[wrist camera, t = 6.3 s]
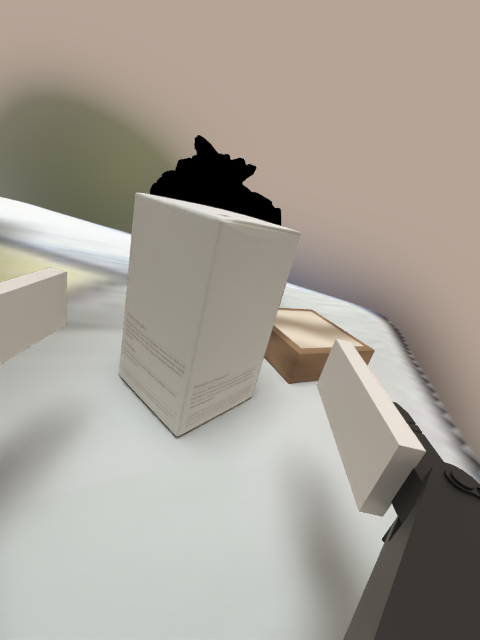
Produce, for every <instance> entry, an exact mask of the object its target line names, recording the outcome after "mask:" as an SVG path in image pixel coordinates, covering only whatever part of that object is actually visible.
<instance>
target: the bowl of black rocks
mask: <svg viewBox="0 0 480 640" xmlns="http://www.w3.org/2000/svg"><path fill="white" fill-rule="evenodd" d="M195 149H196V151H197V155H195V156H193V157H192V159H191V158H187V159H181V160H179V161H178V163H177V167H176V169H175V171H174V170H170V171H167V172H164V173H163V174H162V177H160V178H159V179H158V180H157V182H156V183H154V184H153V185H152V187H151V189H150V195H156V196H161V197H166V198H171V199H176V200H181V201H186V202H191V203H196V204H200V205H205V206H209V207H214V208H218V209H223V210H227V211H231V212H234V213H238V214H242V215H246V216H249V217H253V218H256V219H259V220H263V221H266V222H269V223H272V224H276V225H279V226H281V209H280V208H274V206H273V205H272V202H271V201H270V200H269V199H267V198H265V197H264V196H262V195H260V194H258V193H256V192H251V191H250V190H249V189H248V188H247V187H245V186H244V185H243V184H242V183H243V181H245V180H246V179H247V178H248V177H250V176H251V175H253V174H254V172H255V170H256V166H253V165H251V164H248V165H246V164H245V160H244V159H242V158H237V159H233V160H231V159H230V155H228V154H225V155H223V154H219V153H218V152H217V151H216V150H215V149H214V147H213V146H212V145H211V144H210V143H209V142H208V141H207V140H206V139H205V138H203V137H202V136H200V135H198V136H197V137H196V138H195Z"/></svg>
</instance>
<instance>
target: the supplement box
mask: <svg viewBox="0 0 480 640" xmlns="http://www.w3.org/2000/svg"><path fill="white" fill-rule="evenodd" d="M300 236H301V232H299V231H295V230H292V229H289V228H286V227H282V226H279V225H276V224H272V223H269V222H266V221H263V220H259V219H256V218H253V217H249V216H246V215H242V214H238V213H234V212H231V211H227V210H223V209H218V208H214V207H209V206H205V205H200V204H196V203H191V202H186V201H181V200H176V199H171V198H166V197H161V196H156V195H150V194H144V193H136V194H135V205H134V214H133V225H132V236H131V248H130V259H129V271H128V282H127V294H126V306H125V317H124V328H123V339H122V348H121V360H120V370H119V375H120V377H121V378H122V379H123V380H124V381H125V382H126V383H127V384H128V385H129V386H130V387H131V388H132V389H133V390H134V392H135V393H136V394H137V395H138V396H139V397H140V398H141V399H142V400H143V401H144V402H145V403H146V404H147V405H148V406H149V408H150V409H151V410H152V411H153V412H154V413H155V414H156V415H157V416H158V417H159V418H160V419H161V420H162V422H163V423H164V424H165V425H166V426H167V427H168V428H169V429H170V430H171V431H172V432H173V433H174V434H175V435H176V436H180V435H182V434H184V433H186V432H188V431H190V430H192V429H194V428H195V427H197V426H199V425H201V424H203V423H205V422H207V421H209V420H211V419H212V418H214V417H216V416H218V415H220V414H222V413H224V412H225V411H227V410H229V409H231V408H233V407H235V406H236V405H238V404H240V403H242V402H244V401H246V400H247V399H249V398H250V397H251V396H252V395H253V392H254V388H255V385H256V381H257V378H258V375H259V372H260V368H261V365H262V362H263V358H264V355H265V351H266V348H267V345H268V342H269V338H270V335H271V332H272V328H273V325H274V322H275V319H276V315H277V312H278V309H279V306H280V302H281V299H282V296H283V293H284V289H285V286H286V282H287V279H288V275H289V272H290V269H291V266H292V263H293V259H294V256H295V253H296V249H297V246H298V243H299V239H300Z"/></svg>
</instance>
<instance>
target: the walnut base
mask: <svg viewBox="0 0 480 640" xmlns="http://www.w3.org/2000/svg"><path fill="white" fill-rule="evenodd" d="M335 339H340V340H344V341H348V342H351V343H352V344H353V346H354V347H355V349H356V350H357V352H358V353H359V355H360V356H361V357H362V359H363V360H364V362H365V363H366V365H368V363H369V361H370V359H371V357H372V355H373V353H374V351H375V350H373V349H372V348H370V347H369V346H367V345H366V344H364V343H363V342H361V341H359V340H358V339H356V338H355V337H353V336H352V335H350V334H349V333H347V332H346V331H344V330H342V329H341V328H339V327H338V326H336V325H335V324H333V323H332V322H330V321H329V320H327V319H325V318H324V317H322V316H321V315H319V314H318V313H316V312H315V311H313V310H308V309H289V308H279V309H278V312H277V315H276V319H275V322H274V325H273V328H272V332H271V335H270V338H269V342H268V345H267V348H266V351H265V355H264V357H265V358H266V359H267V361H268V362H269V363H270V364H271V365H272V366H273V367H274V368H275V369H276V370H277V371H278V372H279V373H280V374H281V376H282V377H283V378H284V379H285V380H286V381H287V382H288V383H297V382H306V381H314V380H319V378H320V375H321V373H322V371H323V368H324V366H325V363H326V361H327V359H328V356H329V354H330V351H331V349H332V347H333V344H334V342H335Z"/></svg>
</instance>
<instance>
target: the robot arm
mask: <svg viewBox="0 0 480 640" xmlns="http://www.w3.org/2000/svg"><path fill="white" fill-rule="evenodd" d="M66 317H67V271H63V270H59V269H55V268H51V267H50V268H47V269H44V270H40V271H37V272H34V273H30V274H27V275H23V276H20V277H17V278H13V279H10V280H7V281H3V282H0V365H1V364H3V363H4V362H6V361H8V360H9V359H11V358H13V357H14V356H16V355H17V354H19V353H21V352H22V351H24V350H25V349H27V348H29V347H30V346H32V345H33V344H35V343H37V342H38V341H40V340H42V339H43V338H45V337H46V336H48V335H50V334H51V333H53V332H54V331H56V330H58V329H59V328H61V327H63V326H64V325H66ZM317 387H318V390H319V393H320V396H321V399H322V402H323V405H324V408H325V411H326V414H327V417H328V420H329V423H330V426H331V429H332V432H333V435H334V438H335V441H336V444H337V447H338V450H339V453H340V456H341V459H342V462H343V465H344V468H345V471H346V474H347V477H348V480H349V483H350V486H351V489H352V492H353V495H354V498H355V501H356V504H357V507H358V510H359V511H360V512H364V513H369V514H373V515H378V516H382V517H383V516H384V514H385V513H386V511H387V510H388V508H389V507H390V505H391V504H393V507H394V509H395V511H396V513H397V515H398V517H397V518H396V520H395V521H394V523H393V524H392V525H391V527H390V528H389V530H388V531H387V533H386V534H385V535H384V537H383V538H382V541H383V542H385V543H384V545H383V548H382V550H381V552H380V555H379V557H378V559H377V562H376V564H375V566H374V569H373V571H372V573H371V576H370V578H369V581H368V583H367V585H366V588H365V590H364V592H363V595H362V597H361V599H360V602H359V604H358V607H357V609H356V611H355V614H354V616H353V618H352V621H351V623H350V625H349V628H348V630H347V632H346V635H345V637H344V640H480V484H479V483H478V482H477V481H476V480H475V479H474V478H473V477H471V476H470V475H468V474H467V473H466V472H464V471H463V470H461V469H459V468H458V467H456V466H454V465H452V464H448V463H445V462H443V460H442V459H441V457H440V456H439V455H438V453H437V452H436V451H435V449H434V448H433V446H432V445H431V444H430V442H429V441H428V440H427V438H426V437H425V435H424V434H422V431H421V430H420V429H419V427H418V426H417V425H415V424H416V423H415V422H414V420H413V419H412V418H411V416H410V415H409V414H408V412H406V411H405V410H404V409H403V408H402V407H401V406H400V405H398V404H397V403H396V402H392V401H391V399H390V398H389V397H388V395H387V394H386V392H385V391H384V389H383V388H382V386H381V385H380V384H379V382H378V381H377V379H376V378H375V376H374V375H373V373H372V372H371V370H370V369H369V368H368V366H367V365H366V363H365V362H364V360H363V359H362V357H361V356H360V355H359V353H358V352H357V350H356V349H355V347H354V346H353V344H352V343H351V342H348V341H344V340H340V339H335V342H334V344H333V347H332V349H331V351H330V354H329V356H328V359H327V361H326V363H325V366H324V368H323V371H322V373H321V375H320V378H319V380H318V383H317Z"/></svg>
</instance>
